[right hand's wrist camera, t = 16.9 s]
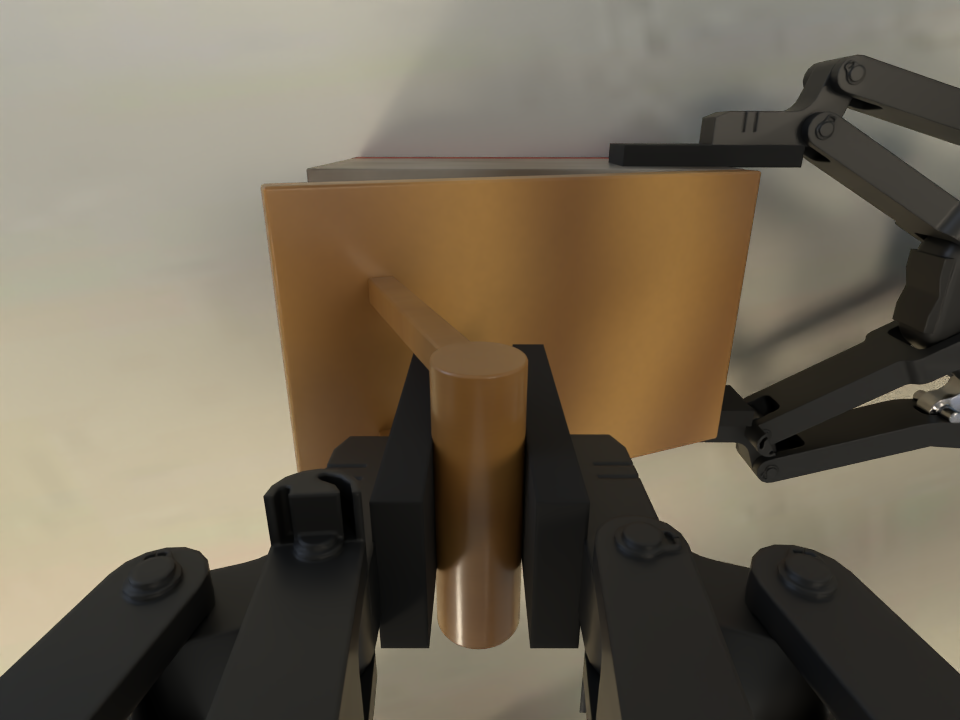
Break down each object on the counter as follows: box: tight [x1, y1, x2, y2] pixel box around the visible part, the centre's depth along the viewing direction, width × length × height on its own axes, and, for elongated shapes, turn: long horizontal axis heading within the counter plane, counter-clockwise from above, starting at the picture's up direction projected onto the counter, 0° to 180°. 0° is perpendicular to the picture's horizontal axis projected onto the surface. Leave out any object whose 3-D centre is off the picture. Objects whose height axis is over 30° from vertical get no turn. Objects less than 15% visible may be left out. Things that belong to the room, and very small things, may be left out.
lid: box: [261, 169, 761, 649], centre depth 15 cm, size 16×10×8 cm, turn 90°
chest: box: [307, 157, 744, 182], centre depth 26 cm, size 15×10×9 cm, turn 90°
